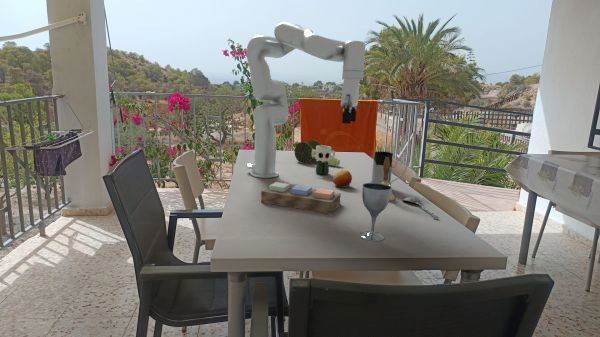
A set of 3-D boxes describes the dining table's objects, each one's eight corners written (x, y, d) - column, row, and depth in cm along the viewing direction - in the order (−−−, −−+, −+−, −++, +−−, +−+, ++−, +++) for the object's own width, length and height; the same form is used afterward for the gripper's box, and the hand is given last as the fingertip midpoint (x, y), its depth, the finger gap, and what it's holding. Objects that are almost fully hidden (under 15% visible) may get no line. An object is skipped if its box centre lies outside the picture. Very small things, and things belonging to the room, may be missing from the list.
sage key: (269, 193, 143) (269, 185, 142) (275, 189, 148) (275, 181, 147) (283, 195, 141) (284, 187, 140) (289, 191, 146) (289, 184, 146)
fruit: (355, 186, 163) (346, 169, 163) (338, 194, 165) (329, 177, 165) (356, 181, 171) (348, 165, 170) (340, 189, 173) (331, 173, 172)
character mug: (311, 175, 185) (312, 147, 182) (309, 171, 192) (311, 144, 189) (334, 175, 186) (336, 148, 183) (332, 172, 193) (334, 145, 190)
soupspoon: (415, 202, 155) (399, 203, 154) (415, 194, 154) (399, 194, 153) (444, 220, 134) (426, 221, 133) (445, 210, 133) (427, 211, 132)
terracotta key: (313, 200, 137) (314, 192, 137) (318, 196, 143) (319, 188, 142) (329, 203, 136) (329, 194, 135) (333, 198, 141) (334, 190, 140)
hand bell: (382, 201, 150) (386, 160, 146) (368, 195, 157) (372, 155, 153) (399, 199, 153) (404, 159, 150) (385, 193, 160) (389, 154, 157)
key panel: (261, 202, 141) (261, 191, 140) (274, 193, 152) (275, 183, 151) (330, 213, 133) (331, 202, 132) (339, 204, 144) (340, 193, 143)
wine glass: (355, 230, 119) (359, 182, 116) (381, 231, 120) (386, 182, 116) (361, 241, 111) (366, 189, 108) (389, 241, 112) (395, 190, 109)
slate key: (291, 196, 140) (291, 188, 140) (296, 193, 145) (297, 185, 145) (306, 199, 138) (306, 191, 138) (311, 195, 143) (311, 187, 143)
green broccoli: (343, 165, 211) (345, 144, 208) (333, 169, 201) (334, 146, 198) (303, 158, 223) (304, 138, 221) (291, 161, 213) (292, 140, 211)
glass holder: (371, 184, 174) (374, 150, 171) (404, 188, 170) (408, 154, 167) (368, 188, 166) (371, 153, 163) (402, 193, 162) (407, 157, 159)
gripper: (347, 76, 156) (343, 119, 160) (337, 74, 140) (333, 123, 144) (366, 76, 154) (362, 121, 158) (358, 75, 138) (354, 125, 142)
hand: (348, 122), depth 151 cm, fingers open, 9 cm apart
